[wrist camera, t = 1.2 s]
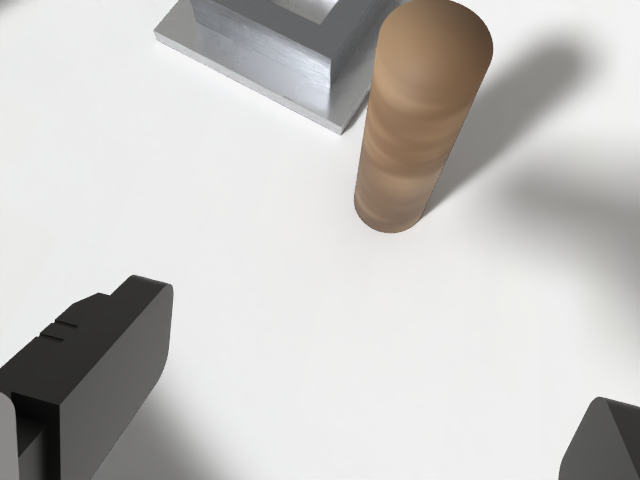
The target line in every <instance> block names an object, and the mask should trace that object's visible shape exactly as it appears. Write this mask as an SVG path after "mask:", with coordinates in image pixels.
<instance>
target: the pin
mask: <svg viewBox="0 0 640 480" xmlns="http://www.w3.org/2000/svg"><path fill="white" fill-rule="evenodd" d="M492 56H493V42H492V37H491V35H490V32H489V30H488V28H487V26H486V25H485V23H484V22H483V21H482V20H481V19H480V17H479V16H478V15H476V14H475V13H474V12H473V11H471V10H470V9H468V8H467V7H465V6H463V5H461V4H459V3H456V2H454V1H450V0H413V1H410V2H407V3H405V4H403V5H401V6H399V7H398V8H396V9H395V10H393V11H392V12H391V13H390V14H389V15H388V16H387V18H386V19H385V20H384V22H383V24H382V26H381V28H380V31H379V36H378V42H377V49H376V55H375V62H374V68H373V75H372V82H371V88H370V95H369V101H368V108H367V115H366V121H365V128H364V134H363V141H362V148H361V154H360V161H359V167H358V174H357V181H356V187H355V194H354V205H355V209H356V211H357V213H358V215H359V217H360V218H361V220H362V221H363V222H364V223H365V224H366V225H368V226H369V227H371V228H372V229H374V230H377V231H380V232H384V233H398V232H402V231H405V230H407V229H409V228H411V227H412V226H413V225H414V224H416V223H417V221H418V220H419V219H420V217H421V215H422V213H423V211H424V209H425V207H426V204H427V202H428V200H429V198H430V196H431V193H432V191H433V189H434V187H435V185H436V182H437V180H438V178H439V176H440V174H441V171H442V169H443V167H444V165H445V162H446V160H447V158H448V156H449V154H450V151H451V149H452V147H453V145H454V143H455V140H456V138H457V136H458V134H459V131H460V129H461V127H462V125H463V123H464V120H465V118H466V116H467V114H468V112H469V109H470V107H471V105H472V103H473V101H474V98H475V96H476V94H477V92H478V89H479V87H480V85H481V83H482V81H483V78H484V76H485V74H486V72H487V70H488V67H489V65H490V63H491V60H492Z"/></svg>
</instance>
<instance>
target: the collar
mask: <svg viewBox="0 0 640 480" xmlns="http://www.w3.org/2000/svg"><path fill="white" fill-rule="evenodd" d="M410 1H413V0H179V1H178V2H177V3H176V4H175V6H174V7H173V8H172V9H171V10H170V12H169V13H168V14H167V15H166V16H165V17H164V19H163V20H162V21H161V22H160V23H159V24H158V26H157V27H156V28H155V29H154V30H153V31H154V33H155V36H156V39H157V40H158V41H160V42H162V43H164V44H166V45H168V46H169V47H171V48H173V49H175V50H177V51H179V52H181V53H183V54H185V55H187V56H189V57H191V58H193V59H195V60H196V61H198V62H200V63H202V64H204V65H206V66H208V67H210V68H212V69H214V70H216V71H218V72H220V73H222V74H224V75H225V76H227V77H229V78H231V79H233V80H235V81H237V82H239V83H241V84H243V85H245V86H247V87H249V88H251V89H253V90H254V91H256V92H258V93H260V94H262V95H264V96H266V97H268V98H270V99H272V100H274V101H276V102H278V103H280V104H281V105H283V106H285V107H287V108H289V109H291V110H293V111H295V112H297V113H299V114H301V115H303V116H305V117H307V118H309V119H310V120H312V121H314V122H316V123H318V124H320V125H322V126H324V127H326V128H328V129H330V130H332V131H334V132H336V133H338V134H339V135H341V134H342V133H343V131H344V130H345V128H346V127H347V125H348V123H349V122H350V120H351V119H352V117H353V116H354V114H355V113H356V111H357V110H358V108H359V107H360V105H361V104H362V102H363V101H364V99H365V98H366V96H367V95H368V93H369V92H370V88H371V82H372V75H373V68H374V62H375V55H376V49H377V42H378V36H379V31H380V28H381V26H382V24H383V22H384V20H385V19H386V18H387V16H388V15H389V14H390V13H391V12H392V11H393V10H395V9H396V8H398V7H399V6H401V5H403V4H405V3H407V2H410Z"/></svg>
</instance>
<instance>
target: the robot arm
mask: <svg viewBox="0 0 640 480" xmlns="http://www.w3.org/2000/svg"><path fill="white" fill-rule="evenodd" d="M172 306H173V287H172V285H171V284H168V283H164V282H160V281H156V280H152V279H149V278H145V277H141V276H137V275H132V276H130V277H129V278H128V279H127V280H126V281H125V282H123V283H122V284H121V285H120V286H119V287H118V288H117V289H116V290H115V291H114V292H113V293H112V294H111V295H106V294H102V293H97V294H94V295H92V296H90V297H87V298H85V299H83V300H80V301H78V302H76V303H73V304H72V305H71V306H70V307H69V308H68V309H67V310H65V311H64V312H63V313H62V314H61V315H60V316H59V317H58V318H56V319H55V322H54V323H51V324H50V325H49V326H47V327H46V328H45V329H44V330H43V331H42V332H41V333H40V335H39V337H35V338H34V339H33V340H32V341H31V342H29V343H28V344H27V345H26V346H25V347H24V348H23V349H22V350H20V351H19V352H18V353H17V354H16V355H15V356H14V357H13V358H11V359H10V360H9V361H8V362H7V363H6V364H5V365H4V366H2V367H1V368H0V480H90V479H91V477H92V476H93V474H94V473H95V472H96V470H97V469H98V467H99V466H100V464H101V463H102V461H103V460H104V459H105V457H106V456H107V454H108V453H109V451H110V450H111V448H112V447H113V445H114V444H115V443H116V441H117V440H118V438H119V437H120V435H121V434H122V432H123V431H124V430H125V428H126V427H127V425H128V424H129V422H130V421H131V419H132V418H133V416H134V415H135V414H136V412H137V411H138V409H139V408H140V406H141V405H142V403H143V402H144V401H145V399H146V398H147V396H148V395H149V393H150V392H151V390H152V389H153V387H154V386H155V385H156V383H157V382H158V380H159V378H160V376H161V374H162V372H163V369H164V366H165V363H166V360H167V356H168V350H169V340H170V329H171V317H172ZM559 480H640V407H638V406H634V405H630V404H627V403H623V402H619V401H615V400H611V399H607V398H603V397H597V398H595V399H594V400H593V401H592V402H591V403H590V405H589V407H588V409H587V411H586V413H585V415H584V417H583V419H582V421H581V423H580V425H579V427H578V429H577V431H576V433H575V435H574V437H573V439H572V441H571V443H570V445H569V447H568V449H567V451H566V453H565V455H564V457H563V459H562V462H561V466H560V470H559Z"/></svg>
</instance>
